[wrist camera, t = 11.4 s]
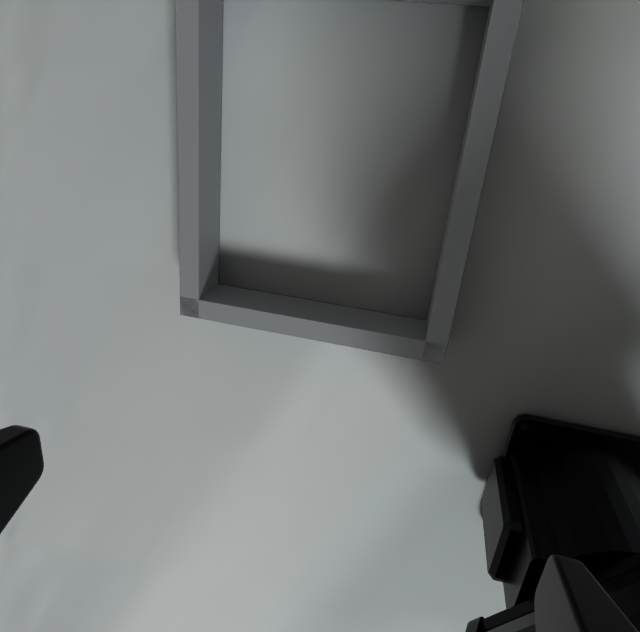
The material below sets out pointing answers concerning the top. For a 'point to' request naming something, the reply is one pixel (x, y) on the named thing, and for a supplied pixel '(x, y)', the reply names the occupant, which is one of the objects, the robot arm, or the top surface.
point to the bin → (204, 199)
